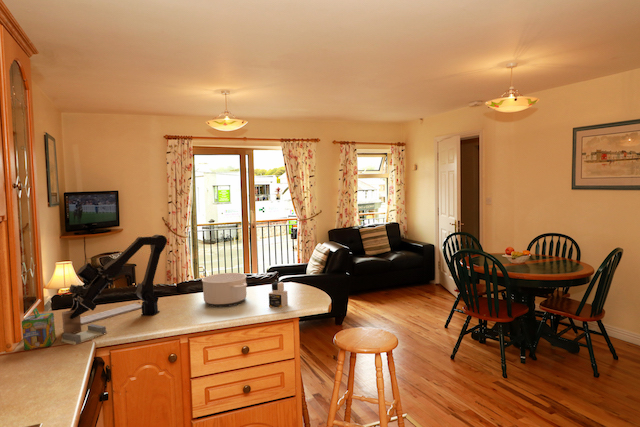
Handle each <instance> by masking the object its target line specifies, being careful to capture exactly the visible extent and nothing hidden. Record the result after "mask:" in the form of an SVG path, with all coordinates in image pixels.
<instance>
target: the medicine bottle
mask: <svg viewBox="0 0 640 427" xmlns="http://www.w3.org/2000/svg"><path fill="white" fill-rule="evenodd" d="M284 287H285V285H284V282H283V281H274V282H272V283H271V292H269V293H268V306H269V308H275V307H276V308H277V309H283V308H284V307H285V306H288V304H289V300H288V290H285V288H284Z"/></svg>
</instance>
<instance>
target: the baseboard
mask: <svg viewBox="0 0 640 427" xmlns="http://www.w3.org/2000/svg"><path fill="white" fill-rule="evenodd" d="M137 310H142V304H141V301H136V302H135V301H133V302H132V303H131V304H128V305H123V306H119V307H115V308H112V309H109V310H105V311H101V312H97V313H93V314H89V315H86V316H82V317H81V316H80V320H81V326H82V325H83V326H84V325H87V324H91V323H94V322H96V321H97V320H98V321H101V320H104V319H108V317H109V318H111V317H115V316H119V315H123V314H126V313H130V312H133V311H137ZM98 321H97V322H98Z"/></svg>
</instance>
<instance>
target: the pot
mask: <svg viewBox="0 0 640 427" xmlns="http://www.w3.org/2000/svg"><path fill="white" fill-rule="evenodd" d="M247 277H248V276H247V274H245V273H241V272H224V273H215V274H211V275H206V276H204V277H202V279H201V282H202V291H203V294H202V295H203V301H204V302H205V304H206V305H207V306H210V307H213V308H227V307H233V306H237V305H239V304H242V303H243V302H244V301H245V300H246V298H247V295H248V294H247V292H248V291H247V286H248V283H247Z"/></svg>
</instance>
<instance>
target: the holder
mask: <svg viewBox="0 0 640 427" xmlns="http://www.w3.org/2000/svg"><path fill="white" fill-rule="evenodd" d="M106 329H107V328H106V326H104V325H98V324H94V323H92V324H91V323H90V324H88V325H87V330H84V331H80V332H77V333H64V332H63V333H62V334H61V336H62V337H61V339H60V341H61V343H65V344H70V345H78V344H81V343H83V342H87V341H89V340H92V339H95V338H97V336H98V337H100V336H99V335H101V336H103V335H105V334H104V333H106V334H108V331H107V330H106ZM102 334H103V335H102ZM94 337H95V338H94Z"/></svg>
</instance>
